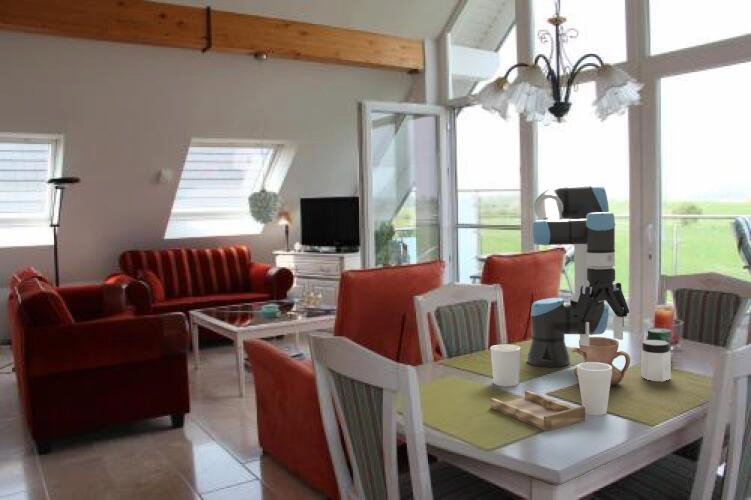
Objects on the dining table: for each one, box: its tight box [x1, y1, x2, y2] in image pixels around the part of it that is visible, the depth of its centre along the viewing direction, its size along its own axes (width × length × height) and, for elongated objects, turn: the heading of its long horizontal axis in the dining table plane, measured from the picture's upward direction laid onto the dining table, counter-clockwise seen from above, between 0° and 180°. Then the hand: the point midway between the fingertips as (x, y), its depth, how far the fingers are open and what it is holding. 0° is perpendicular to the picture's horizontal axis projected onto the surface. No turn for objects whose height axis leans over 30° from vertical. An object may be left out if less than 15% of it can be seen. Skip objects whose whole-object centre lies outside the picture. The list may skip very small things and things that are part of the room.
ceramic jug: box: [571, 336, 631, 387], centre depth 208 cm, size 18×14×14 cm
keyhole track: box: [490, 389, 586, 432], centre depth 182 cm, size 23×14×4 cm, turn 28°
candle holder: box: [489, 343, 522, 388], centre depth 213 cm, size 10×10×12 cm
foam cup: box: [576, 361, 612, 416], centre depth 182 cm, size 10×9×13 cm
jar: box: [640, 339, 672, 383], centre depth 212 cm, size 9×8×12 cm
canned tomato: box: [646, 327, 672, 352], centre depth 235 cm, size 8×8×11 cm
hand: (601, 342), depth 182 cm, fingers open, 13 cm apart
